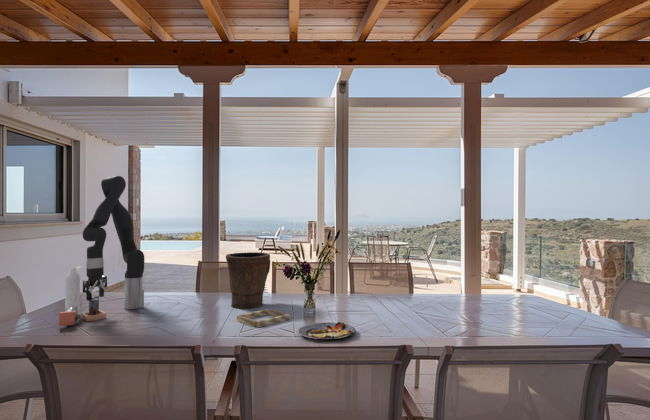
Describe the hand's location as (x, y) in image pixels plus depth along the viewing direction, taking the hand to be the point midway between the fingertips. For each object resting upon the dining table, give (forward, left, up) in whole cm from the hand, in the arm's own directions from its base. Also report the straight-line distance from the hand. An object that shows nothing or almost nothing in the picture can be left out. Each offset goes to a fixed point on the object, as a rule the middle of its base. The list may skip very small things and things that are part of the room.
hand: (95, 298), depth 197 cm
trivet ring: (-56, +65, -10) cm, 87 cm away
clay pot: (-72, +32, -10) cm, 80 cm away
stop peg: (0, -1, -9) cm, 9 cm away
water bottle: (+6, -15, -10) cm, 19 cm away
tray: (+1, -1, -10) cm, 10 cm away
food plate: (-61, +104, -11) cm, 121 cm away
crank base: (+11, +1, -10) cm, 15 cm away
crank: (+12, +4, -9) cm, 15 cm away
